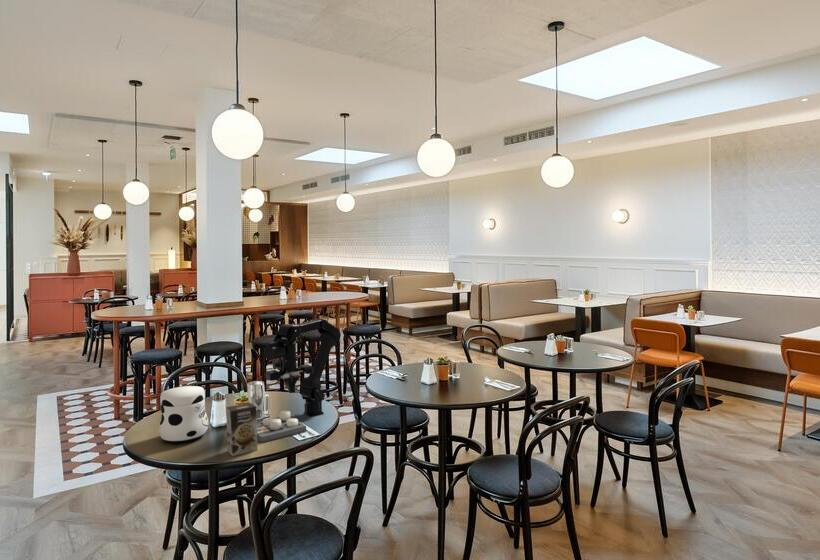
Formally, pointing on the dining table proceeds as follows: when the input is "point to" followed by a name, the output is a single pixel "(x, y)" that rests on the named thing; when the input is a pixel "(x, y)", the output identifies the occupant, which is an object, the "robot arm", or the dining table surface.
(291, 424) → the button
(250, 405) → the coffee box
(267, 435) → the puzzle board
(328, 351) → the robot arm
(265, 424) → the button
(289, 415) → the button
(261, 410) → the beer glass
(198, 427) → the milk container
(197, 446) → the dining table surface
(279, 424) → the button
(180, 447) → the dining table surface
